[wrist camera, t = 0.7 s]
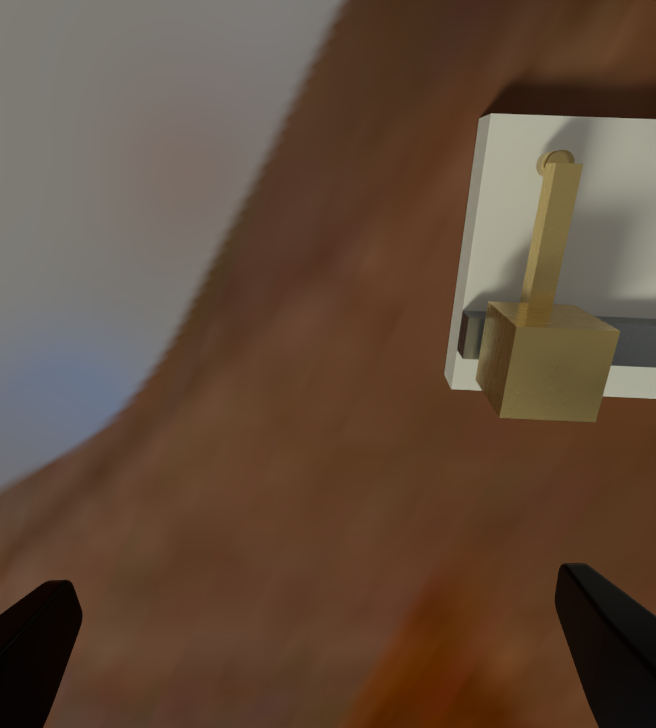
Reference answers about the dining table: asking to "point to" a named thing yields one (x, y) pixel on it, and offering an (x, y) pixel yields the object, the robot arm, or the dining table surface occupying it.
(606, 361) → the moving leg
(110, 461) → the dining table surface
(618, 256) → the plate
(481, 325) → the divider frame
